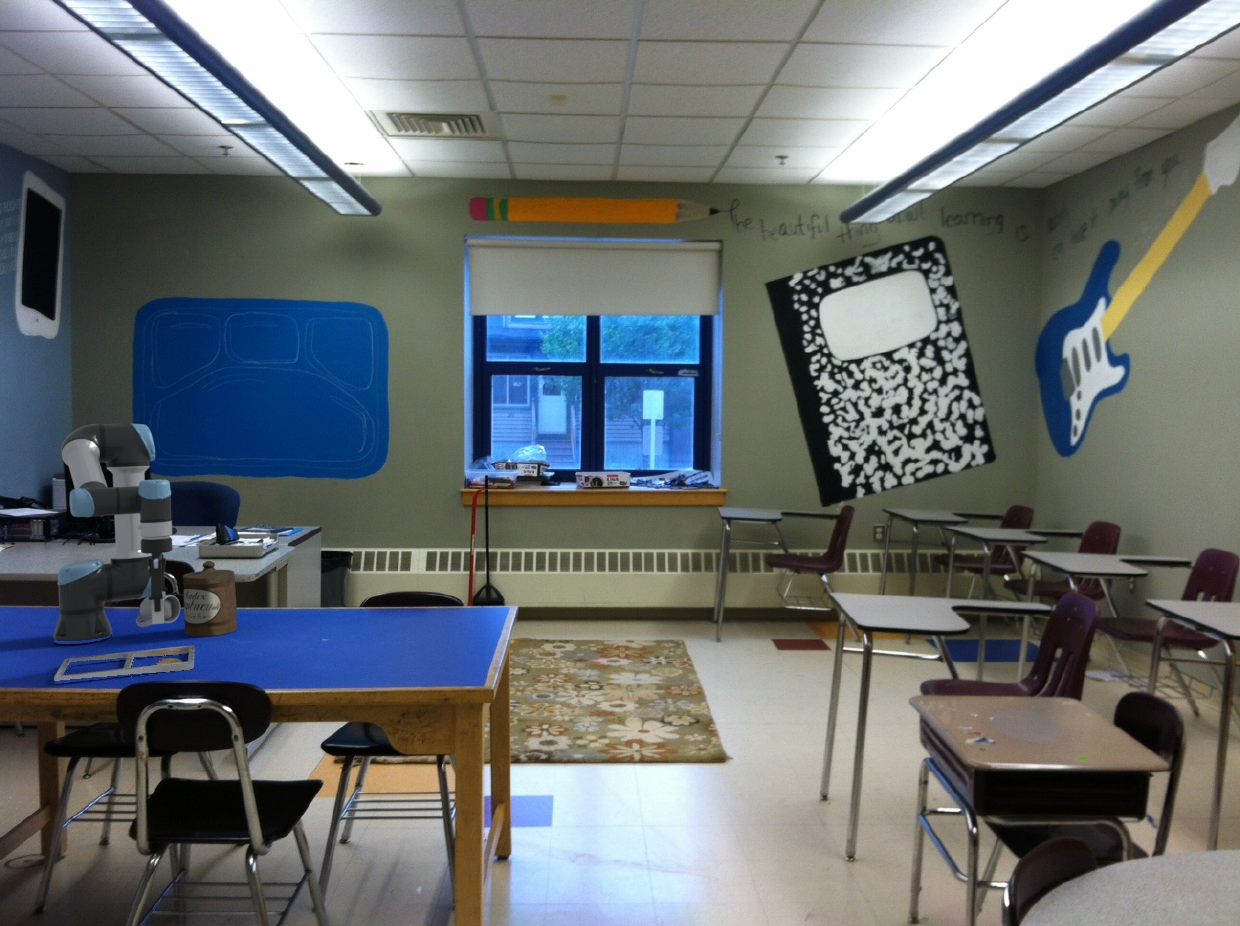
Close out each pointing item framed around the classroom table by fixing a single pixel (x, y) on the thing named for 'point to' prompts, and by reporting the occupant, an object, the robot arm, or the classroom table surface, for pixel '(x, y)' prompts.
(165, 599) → the ceramic mug
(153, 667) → the slot rack
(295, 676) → the classroom table surface
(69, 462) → the robot arm
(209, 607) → the wooden container
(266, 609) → the classroom table surface
